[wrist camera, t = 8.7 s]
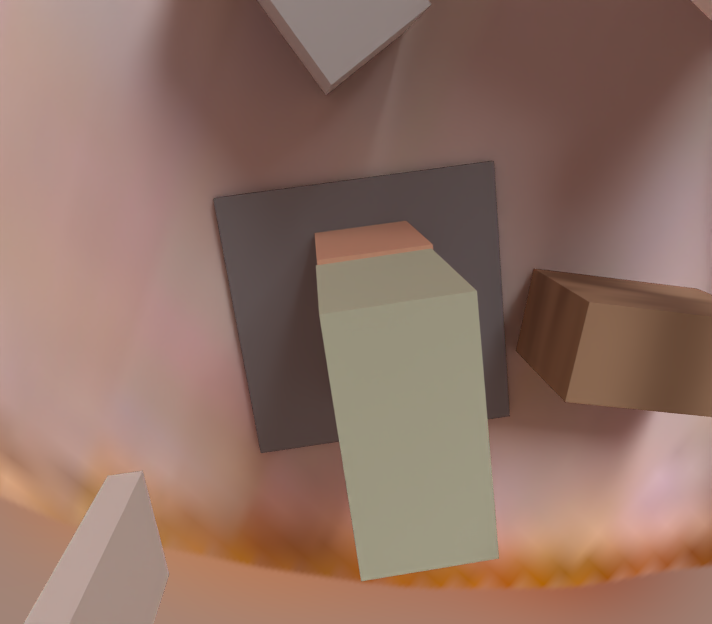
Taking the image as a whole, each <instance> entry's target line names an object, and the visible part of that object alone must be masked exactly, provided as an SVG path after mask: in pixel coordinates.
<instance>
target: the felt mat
mask: <svg viewBox="0 0 712 624" xmlns="http://www.w3.org/2000/svg"><path fill="white" fill-rule="evenodd" d="M213 200H214V206H215V211H216V216H217V222H218V227H219V232H220V238H221V243H222V248H223V254H224V259H225V264H226V270H227V275H228V281H229V286H230V291H231V297H232V302H233V307H234V313H235V318H236V323H237V329H238V334H239V339H240V345H241V350H242V355H243V361H244V366H245V371H246V377H247V382H248V387H249V393H250V398H251V403H252V409H253V414H254V419H255V425H256V430H257V435H258V441H259V446H260V451H261V453H265V452H272V451H278V450H285V449H292V448H299V447H305V446H312V445H319V444H325V443H332V442H339V437H338V431H337V425H336V418H335V412H334V406H333V399H332V393H331V387H330V380H329V374H328V368H327V361H326V355H325V349H324V342H323V336H322V330H321V323H320V317H319V305H318V291H317V276H316V265H317V258H316V245H315V233H318V232H326V231H333V230H341V229H348V228H355V227H363V226H370V225H378V224H385V223H393V222H400V221H407V222H408V223H409V224H411V225H412V226H413V227H414V228H415V229H416V230H417V231H418V232H419V233H421V234H422V235H423V236H424V237H425V238H426V239H427V240H428V241H430V242H431V243H432V244H433V250H434V251H435V252H436V253H437V254H438V255H439V256H440V257H441V258H442V259H443V260H444V261H446V262H447V263H448V264H449V265H450V266H451V267H452V268H453V269H454V270H455V271H456V272H457V273H458V274H459V275H461V276H462V277H463V278H464V279H465V280H466V281H467V282H468V283H469V284H470V285H471V286H472V287H473V288H474V289H476V290H477V298H478V310H479V322H480V334H481V346H482V359H483V371H484V383H485V395H486V407H487V419H493V418H500V417H506V416H510V415H509V399H508V383H507V366H506V350H505V333H504V317H503V301H502V284H501V268H500V252H499V235H498V219H497V202H496V186H495V170H494V161H488V162H480V163H473V164H465V165H458V166H450V167H443V168H435V169H428V170H420V171H413V172H405V173H398V174H390V175H383V176H375V177H368V178H360V179H353V180H345V181H338V182H330V183H323V184H315V185H308V186H300V187H293V188H285V189H278V190H270V191H263V192H255V193H248V194H240V195H233V196H225V197H218V198H214V199H213Z"/></svg>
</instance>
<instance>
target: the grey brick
mask: <svg viewBox="0 0 712 624" xmlns="http://www.w3.org/2000/svg"><path fill="white" fill-rule="evenodd" d="M257 1H258V3H259V4H260V5H261V7H262V8H263V9H264V11H265V12H266V14H267V15H268V16H269V18H270V19H271V20H272V22H273V23H274V25H275V26H276V27H277V29H278V30H279V31H280V33H281V34H282V36H283V37H284V38H285V40H286V41H287V42H288V44H289V45H290V47H291V48H292V49H293V51H294V52H295V53H296V55H297V56H298V58H299V59H300V60H301V62H302V63H303V64H304V66H305V67H306V69H307V70H308V71H309V73H310V74H311V75H312V77H313V78H314V80H315V81H316V82H317V84H318V85H319V86H320V88H321V89H322V91H323V92H324V93H325V95H327V94H328V93H329V92H331V91H332V90H333V89H334V88H336V87H337V86H338V85H339V84H341V83H342V82H343V81H344V80H346V79H347V78H348V77H349V76H351V75H352V74H353V73H354V72H356V71H357V70H358V69H359V68H361V67H362V66H363V65H364V64H366V63H367V62H368V61H369V60H371V59H372V58H373V57H374V56H376V55H377V54H378V53H379V52H381V51H382V50H383V49H384V48H385V47H387V46H388V45H389V44H390V43H392V42H393V41H394V40H395V39H397V38H398V37H399V36H400V35H402V34H403V33H404V32H405V31H406V30H407V29H408V28H409V27H410V26H411V25H412V24H413V23H414V22H415V21H416V20H417V19H418V18H419V17H420V16H421V15H422V14H423V13H424V12H425V11H426V9H427V8H428V7H429V6H430V5H431V3H430V2H429V0H257Z"/></svg>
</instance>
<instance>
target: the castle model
mask: <svg viewBox="0 0 712 624" xmlns="http://www.w3.org/2000/svg"><path fill="white" fill-rule="evenodd" d="M690 1H692V2H693V3H694V4H695V5H696V6H697V7H698V8H699V9H700V10H701V11H702V12H703V13H704V14H705V15H706V16H707V17H708V18H709V19H710V20H711V21H712V0H690Z"/></svg>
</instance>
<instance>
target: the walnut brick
mask: <svg viewBox="0 0 712 624" xmlns="http://www.w3.org/2000/svg"><path fill="white" fill-rule="evenodd" d="M516 351H517V352H518V353H519V354H520V355H521V357H522V358H523V359H524V360H525V361H526V362H527V363H528V364H529V365H530V366H531V367H532V368H533V369H534V370H535V371H536V372H537V373H538V374H539V375H540V376H541V377H542V379H543V380H544V381H545V382H546V383H547V384H548V385H549V386H550V387H551V388H552V389H553V390H554V391H555V392H556V393H557V394H558V395H559V396H560V397H561V398H562V399H563V401H564V402H568V403H578V404H588V405H598V406H608V407H618V408H628V409H638V410H648V411H658V412H668V413H678V414H688V415H698V416H708V417H712V295H711V294H708V293H706V292H703V291H701V290H698V289H695V288H687V287H679V286H671V285H663V284H655V283H647V282H639V281H631V280H622V279H614V278H606V277H598V276H590V275H582V274H574V273H566V272H558V271H550V270H542V269H534V270H533V274H532V279H531V283H530V288H529V293H528V297H527V302H526V307H525V311H524V316H523V320H522V325H521V330H520V334H519V339H518V344H517V348H516Z"/></svg>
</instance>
